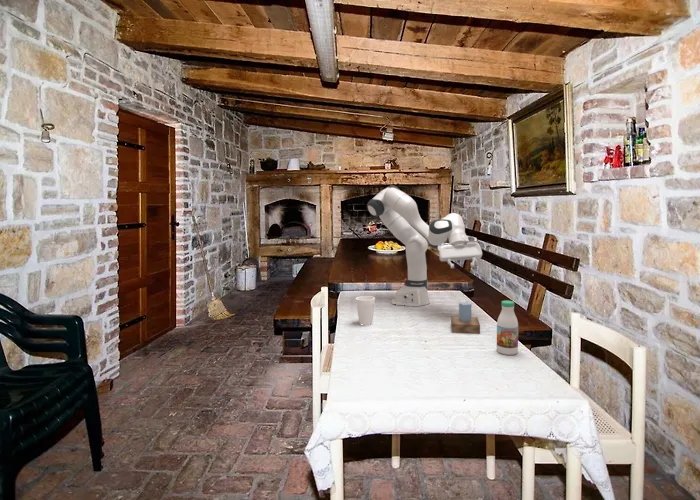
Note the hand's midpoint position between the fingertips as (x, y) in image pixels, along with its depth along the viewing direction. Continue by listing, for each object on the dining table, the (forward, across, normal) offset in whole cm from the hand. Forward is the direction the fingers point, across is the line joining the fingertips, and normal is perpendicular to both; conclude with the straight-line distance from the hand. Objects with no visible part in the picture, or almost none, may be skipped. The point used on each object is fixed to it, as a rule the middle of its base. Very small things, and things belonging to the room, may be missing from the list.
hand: (462, 267), depth 185 cm
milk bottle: (+45, +8, -14) cm, 48 cm away
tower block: (+25, -2, +6) cm, 26 cm away
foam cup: (+21, -49, +12) cm, 55 cm away
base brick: (+28, -2, +8) cm, 29 cm away
